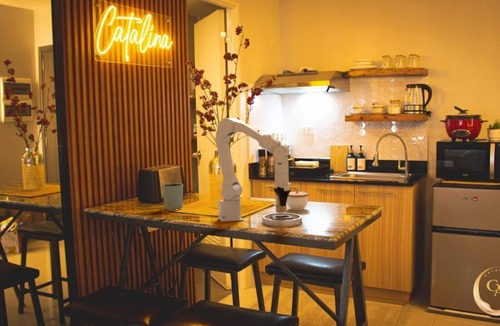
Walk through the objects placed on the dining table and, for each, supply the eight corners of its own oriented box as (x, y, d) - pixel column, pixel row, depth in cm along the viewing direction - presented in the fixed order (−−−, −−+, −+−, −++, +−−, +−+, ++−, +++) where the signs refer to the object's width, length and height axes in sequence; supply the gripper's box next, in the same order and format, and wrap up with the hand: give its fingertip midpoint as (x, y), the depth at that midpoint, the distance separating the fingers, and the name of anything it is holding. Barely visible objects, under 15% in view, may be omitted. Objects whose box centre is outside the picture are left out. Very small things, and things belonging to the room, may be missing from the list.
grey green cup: (185, 207, 255) (185, 183, 254) (181, 210, 245) (180, 186, 244) (165, 207, 256) (165, 183, 255) (160, 210, 246) (159, 186, 245)
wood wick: (277, 213, 213) (276, 194, 212) (275, 212, 215) (275, 193, 214) (286, 212, 213) (286, 193, 213) (285, 211, 216) (284, 192, 215)
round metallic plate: (268, 227, 205) (268, 221, 205) (259, 219, 221) (259, 214, 221) (306, 225, 209) (306, 219, 208) (294, 217, 224) (294, 211, 224)
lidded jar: (282, 208, 246) (281, 189, 245) (302, 206, 250) (302, 187, 249) (291, 212, 236) (291, 192, 235) (312, 210, 240) (312, 190, 239)
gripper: (296, 174, 207) (296, 207, 208) (285, 170, 221) (286, 202, 222) (279, 175, 205) (279, 208, 206) (270, 171, 219) (270, 202, 220)
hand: (282, 205), depth 214 cm, fingers closed on wood wick, 2 cm apart
